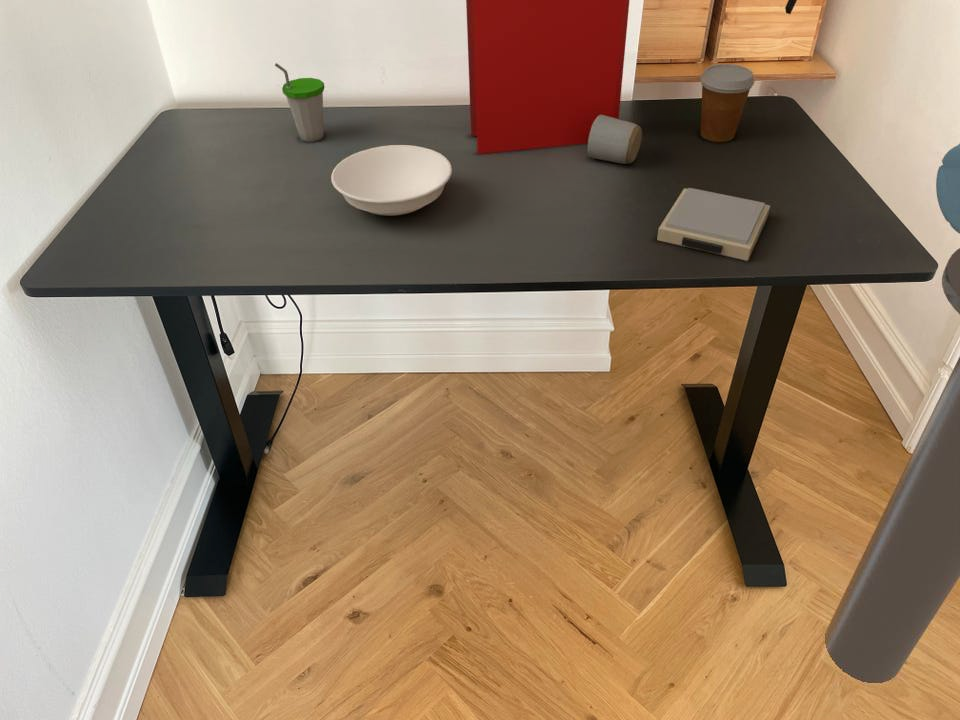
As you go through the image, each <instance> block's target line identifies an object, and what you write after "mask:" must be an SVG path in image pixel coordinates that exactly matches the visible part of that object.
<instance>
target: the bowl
mask: <svg viewBox="0 0 960 720" xmlns="http://www.w3.org/2000/svg"><path fill="white" fill-rule="evenodd" d="M452 172H453V167H452V165H451V162H450V161H449V159H448V158H447V157H445V156H444V155H443V154H442V153H440V152H438V151H436V150H433V149H430V148H428V147H427V148H426V147H423V146H419V145H410V144H409V145H408V144H391V145H381V146H376V147H371V148H367V149H364V150H360V151H358V152H355V153H353V154H350V155H349V156H347V157H345V158H343V159H342V160H341V161H340V162H339V163H337V164H336V166H335V167H334V168H333V170H332V173H331V176H330V179H331V184H332V185H333V187H334V188H335V190H337V191H338V192H339V193H340V194H342V196H343V198H344V200H345V201H346V202H347V203H348V204H349V205H350V206H352V207H354V208H355V209H358V210H361V211H365V212H368V213H371V214H373V215H379V216H386V217H387V216H393V217H394V216H401V215H406V214H410V213H413V212H416V211H419V210H421V209H422V208H423V207H425V206H427V205H429V204H431V203H433V202H434V201H435V200H437V199H438V198H439V197H440V196H441V195H442V194H443V191H444V189H445V185H446V183H448V181H449V180H450V179H451V177H452V175H453V174H452Z"/></svg>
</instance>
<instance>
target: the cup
mask: <svg viewBox="0 0 960 720" xmlns="http://www.w3.org/2000/svg"><path fill="white" fill-rule="evenodd" d="M274 67H276V68H278V70H280V71H281V72H283V74H284V77H285V83H283V85H282V87H281V90H282V95H284V96H285V98H286V100H287V103H288V105H289V108H290V111H291V114H292V118H293V120H294V124H295V126H296V130H297V132H298V135H299V139H300V140H301V141H302V142H305V143H314V142H318V141H321V140H323V139H324V136H325V127H324V126H325V125H324V123H325V122H324V97H323V96H324V91H325V83H324V81H322V80H321V79H319V78H314V77H300V78H295V79H292V80H290V77H289V74H288V73H289V72H288V70H287V69H285V68H284V67H282V66H281V65H280V64H278V63H277V62H276V63H275V64H274Z"/></svg>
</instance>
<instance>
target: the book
mask: <svg viewBox="0 0 960 720" xmlns="http://www.w3.org/2000/svg"><path fill="white" fill-rule="evenodd" d="M630 2H631V1H630V0H465V3H466V4H465V5H466V6H465V8H466V33H467V60H468V61H467V62H468V63H467V64H468V87H469V112H470V136H471V137H476V147H477V148H476V151H477V155H480V154H490V153H491V154H492V153H501V152H511V151H512V152H513V151H521V150H531V149H542V148H553V147H562V146H573V145H583V144H588V139H589V134H590V131H591V127H592V125H593V123H594V121H595V119H596V118H597V117H598V116H599V115H605V116H608V117H612V118H616V119H619V118H620V109H621V98H622V87H623V75H624V65H625V53H626V44H627V43H626V42H627V33H628V22H629V21H628V20H629V11H630V10H629V9H630Z"/></svg>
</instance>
